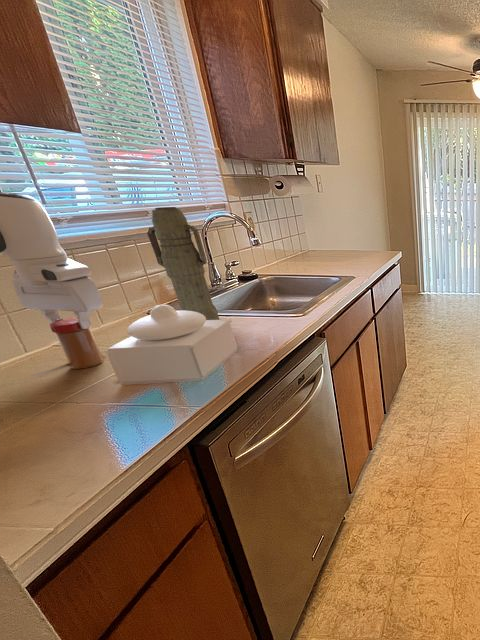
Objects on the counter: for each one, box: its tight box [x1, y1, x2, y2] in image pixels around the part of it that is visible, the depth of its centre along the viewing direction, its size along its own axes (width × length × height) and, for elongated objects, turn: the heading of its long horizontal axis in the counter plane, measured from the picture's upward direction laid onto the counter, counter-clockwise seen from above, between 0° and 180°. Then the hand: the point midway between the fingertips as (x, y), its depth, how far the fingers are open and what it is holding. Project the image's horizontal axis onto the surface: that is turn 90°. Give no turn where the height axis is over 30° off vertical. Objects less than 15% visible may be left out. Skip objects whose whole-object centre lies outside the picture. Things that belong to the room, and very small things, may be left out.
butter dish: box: [105, 303, 239, 386], centre depth 94 cm, size 18×18×16 cm
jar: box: [55, 327, 104, 370], centre depth 97 cm, size 6×6×10 cm
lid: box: [49, 317, 92, 334], centre depth 95 cm, size 7×7×2 cm
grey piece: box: [146, 206, 221, 320], centre depth 112 cm, size 9×12×35 cm
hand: (72, 327), depth 96 cm, fingers closed on lid, 6 cm apart
